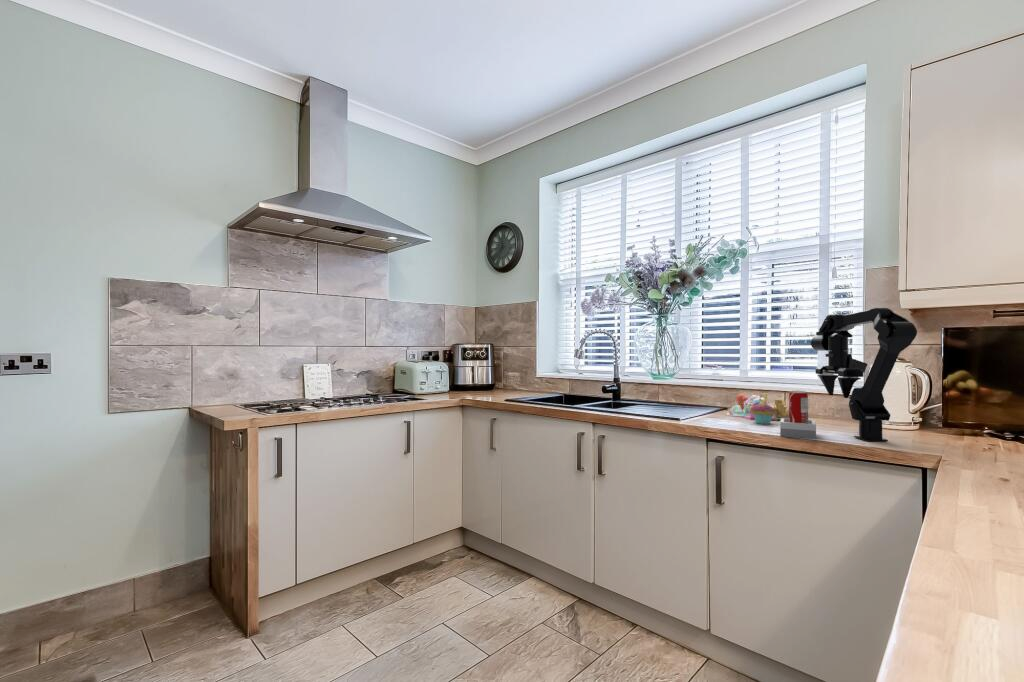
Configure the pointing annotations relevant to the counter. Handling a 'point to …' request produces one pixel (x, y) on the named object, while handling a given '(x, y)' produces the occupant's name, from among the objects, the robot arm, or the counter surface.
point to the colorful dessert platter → (746, 404)
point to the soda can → (798, 407)
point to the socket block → (798, 429)
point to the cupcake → (762, 412)
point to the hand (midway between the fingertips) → (838, 396)
